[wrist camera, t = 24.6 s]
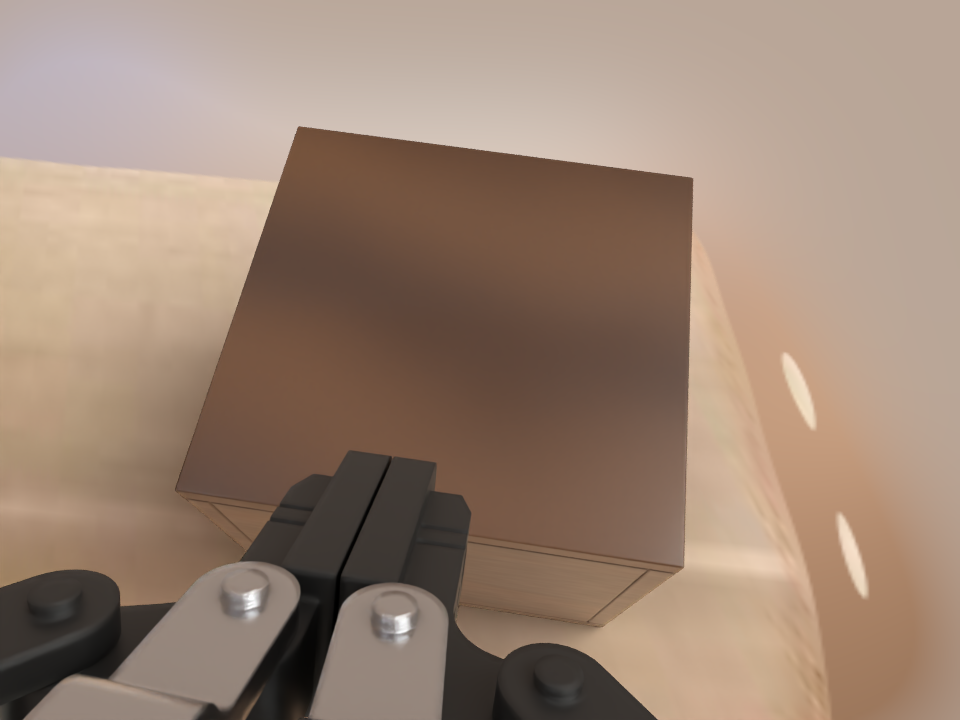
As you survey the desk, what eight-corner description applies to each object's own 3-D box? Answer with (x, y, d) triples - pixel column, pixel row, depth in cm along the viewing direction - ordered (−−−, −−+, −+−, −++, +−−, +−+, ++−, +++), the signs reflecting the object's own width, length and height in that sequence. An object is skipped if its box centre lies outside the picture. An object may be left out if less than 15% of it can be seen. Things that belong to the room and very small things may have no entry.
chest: (342, 320, 40) (295, 158, 29) (621, 360, 40) (687, 209, 28) (274, 576, 34) (183, 498, 23) (602, 627, 34) (676, 574, 22)
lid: (301, 140, 29) (297, 125, 29) (687, 191, 29) (693, 177, 28) (182, 498, 23) (173, 490, 22) (677, 573, 22) (684, 568, 22)
